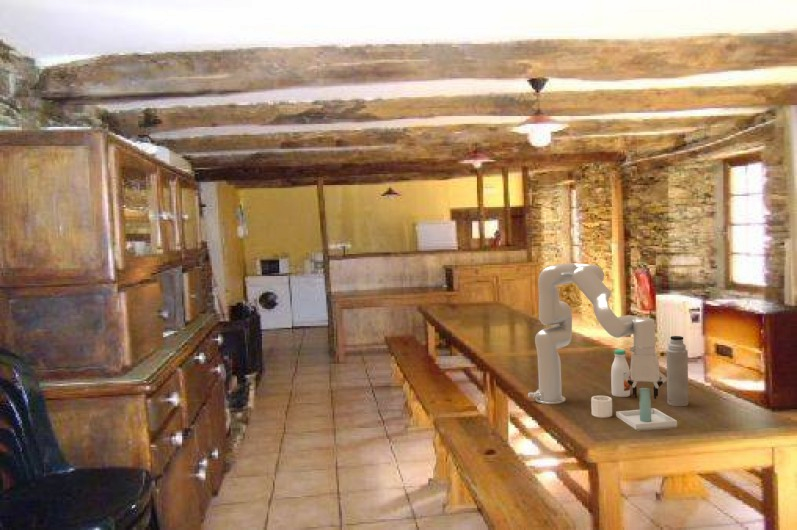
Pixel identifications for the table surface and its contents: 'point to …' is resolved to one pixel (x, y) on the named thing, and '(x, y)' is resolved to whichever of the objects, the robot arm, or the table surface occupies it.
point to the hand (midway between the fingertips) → (645, 397)
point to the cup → (601, 406)
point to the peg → (645, 404)
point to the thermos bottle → (677, 372)
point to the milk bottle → (619, 375)
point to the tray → (657, 422)
